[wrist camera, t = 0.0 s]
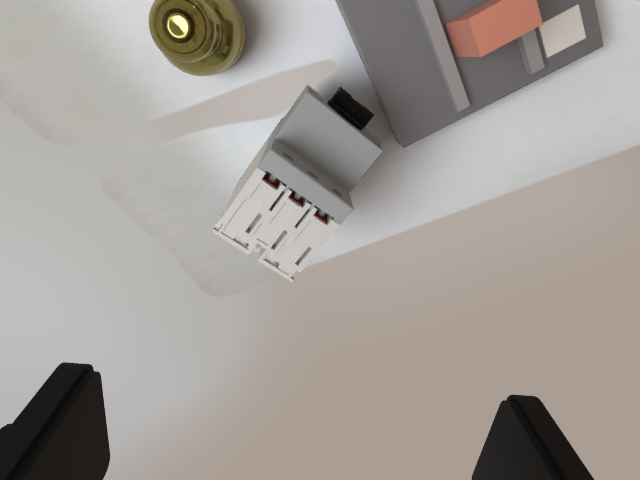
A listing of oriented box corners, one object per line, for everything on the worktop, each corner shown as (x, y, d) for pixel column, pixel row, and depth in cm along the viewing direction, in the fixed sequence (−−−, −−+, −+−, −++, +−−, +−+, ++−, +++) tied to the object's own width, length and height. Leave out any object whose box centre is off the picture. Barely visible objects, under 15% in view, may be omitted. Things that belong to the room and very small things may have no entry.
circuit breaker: (375, 114, 43) (407, 142, 29) (294, 218, 48) (290, 284, 34) (317, 67, 41) (323, 74, 27) (239, 180, 46) (210, 234, 32)
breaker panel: (334, -2, 39) (337, -8, 35) (544, -126, 35) (571, -147, 32) (397, 142, 44) (405, 150, 41) (583, 46, 41) (610, 45, 37)
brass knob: (166, -19, 38) (122, -41, 29) (249, -7, 38) (231, -26, 29) (168, 69, 41) (129, 73, 32) (245, 78, 41) (228, 85, 32)
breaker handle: (444, 24, 37) (468, 18, 32) (498, -6, 36) (532, -17, 31) (455, 56, 38) (481, 57, 33) (508, 28, 37) (542, 24, 32)
